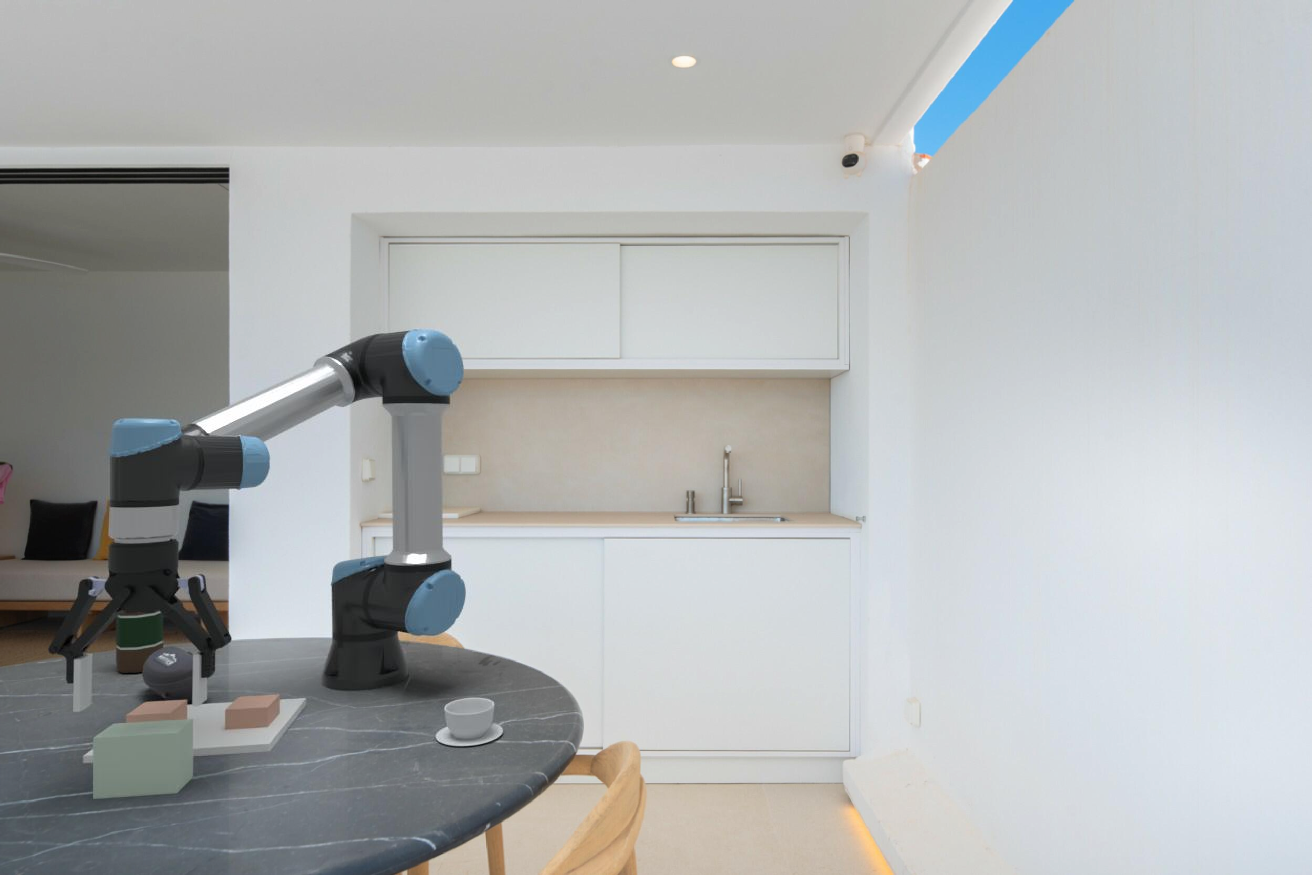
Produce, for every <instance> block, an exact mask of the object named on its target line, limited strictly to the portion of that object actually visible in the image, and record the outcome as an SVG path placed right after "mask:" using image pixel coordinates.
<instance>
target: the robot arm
mask: <svg viewBox="0 0 1312 875" xmlns="http://www.w3.org/2000/svg"><path fill="white" fill-rule="evenodd" d="M460 352H461V351H460V350H459V348H458V347H457V345H456V344H454V342H453V340H452V339H451V338H450V337H449V336H448V335H446V334H445V333H444V332H441V331H439V330H435V329H434V330H433V329H422V328H421V329H411V330H403V331H396V332H387V333H386V332H384V333H375V334H371V335H368V336H365V337H362V338H359V339H357V340H355V341H353V342H351V343H348V344H346V345H344V346H342V347H340V348H338V349H336V350H334V351H332V352H329V353H328V354H325V355H324V356H321V357H319V358H317V359H316V361H314V363H313V365H312V366H313V367H311V368H308V369H306V370H305V371H302V372H300V373H298V374H296V375H293V376H291V377H289V378H287V379H284V380H282V381H280V382H277V383H276V384H274V385H271V386H269V387H267V388H264V389H263V390H260V391H258V392H256V393H254V394H252V395H249V396H247V397H245V398H243V399H241V400H239V401H237V402H234V403H232V404H230V405H228V406H226V407H223V408H221V409H218V410H217V411H214V412H213V413H210V414H208V415H206V416H203V417H201V418H199V419H197V420H195V421H193V422H191V423H188V424H186V425H184V426H181V423H180V422H179V421H178V420H176V419H165V418H164V419H163V418H121V419H118V420H117V421H115V422H114V423H113V424H112V427H111V433H110V434H111V435H110V442H109V443H110V444H109V452H108V457H109V517H108V535H107V537H109V538H110V539H114V541H112V542H111V543H109V545H108V557H107V558H108V559H107V560H108V562H107V566H108V567H107V568H108V577H107V579H104V578H103V579H102V578H99V577H98V576H90V577H87V578H84V579H81V580H80V581H79V583H78V588H77V590H78V591H77V596H76V599H75V601H73V602H74V603H73V604H72V605H71V608H70V609H69V611H68V612H67V614H66V616H65V618H64V620H63V622H62V624H61V625H60V626H59V628H58V630H57V632H56V634H55V636H54V638H52V641H51V643H50V644H49V647H48V653H49V654H50V655H56V654H57V655H59V656H60V655H61V656H63V657H64V659H65V660H66V661H65V662H66V664H65V665H66V666H65V667H66V668H65V669H66V670H65V671H66V672H65V674H66V675H65V681H66V682H67V684H69V685H71V684H73V697H72V700H73V702H72V704H73V705H72V707H73V708H72V713H80V712H82V711H83V710H85V709H87V708H88V707H90V706H92V699H93V698H92V694H93V691H92V690H93V689H92V688H93V653H86V652H88V649H89V648H90V647H91V645H92V644H93V643H94V642H95V641H96V640H97V639H98V638H99V637H100V636H101V634H102V633H103V632H104V631H106V629H107V628H108V627H109V626H110V625H111V624H112V623H113V622H114V621H115V620H116V617H117V616H118V615H119V614H120V613H122V612H123V611H124V612H126V614H133V613H136V612H144V613H154V612H156V611H158V610H159V611H160V612H161V613H162V614H163V617H164V616H165V617H167V618H168V619H169V620H170V621H171V622H172V623H173V624H174V625H175V626H176V627H177V629H178V630H179V631H180V632H181V633H182V634H183V635H184V636H185V637H186V639H187V640H189V641H190V642H191V644H193V646H194V647H195V648H196V649H197V650H198V652H196V653H194V654H193V692H192V702H191V705H192V706H199V705H201V704H204V703H205V701H207V700H208V680H207V678H208V679H209V678H211V677H213V675H215V672H216V651H217V650H218V649H223V648H224V647H225V646H227V645H229V643H231V642H232V639H233V638H232V636H231V634H230V632H229V630H228V628H227V626H226V625H225V622H224V620H223V619H222V617H221V615H220V613H219V611H218V609H217V608H216V605H215V603H214V601H213V600H212V598H211V596H210V594H209V592H208V590H207V582H206V576H205V575H204V574H203V573H199V574H196V575H193V576H188V577H187V576H186V577H180V575H179V572H178V571H179V550H180V549H179V546H180V545H179V544H180V542H179V541H178V539H177V538H174V537H175V536H177V535H178V534H179V528H180V525H179V524H180V495H181V492H187V491H189V492H190V491H205V490H206V491H211V490H215V491H216V490H239V491H240V490H241V489H248V488H249V489H250V488H256V487H258V486H261V485H262V483H263V482H265V480H266V478H267V477H268V475H269V472H270V469H271V468H270V467H271V464H270V460H271V456H270V455H271V454H270V452H269V449H268V446H267V445H266V443H265V442H267V441H269V440H271V439H272V438H274V437H277V436H278V435H280V434H282V433H284V432H287V431H289V430H291V429H292V428H294V427H296V426H298V425H299V424H302V423H304V422H306V421H307V420H310V419H312V418H313V417H316V416H317V415H320V414H321V413H324V412H325V411H328V410H330V409H331V408H333V407H335V406H336V407H341V408H344V407H348V406H350V405H351V404H354V403H355V402H358V401H362V400H365V399H367V400H368V399H372V398H373V399H374V398H381V400H382V402H381V403H382V404H381V406H382V407H383V409H384V410H386V411H387V412H388V414H390V416H391V479H392V480H391V483H392V484H391V485H392V486H391V487H392V488H391V490H392V491H391V495H392V497H391V500H392V506H391V509H392V550H391V552H390V553H389V554H387V555H377V556H376V555H375V556H368V557H361V558H354V559H350V560H349V559H348V560H343V561H339V562H337V563H336V564H335V565H334V566H333V568H332V577H331V583H330V587H331V630H332V631H331V638H332V639H331V645H330V648H329V651H328V654H327V657H326V660H325V663H324V666H323V669H322V672H321V673H322V674H321V684H322V686H323V687H324V688H326V689H329V690H332V691H341V692H358V691H370V690H376V689H382V688H386V687H390V686H393V685H395V684H399V683H400V682H402V681H404V680H406V678H407V677H408V675H409V674H408V673H409V670H408V669H409V666H408V663H407V659H406V656H405V653H404V650H403V647H402V644H401V641H400V639H399V638H400V637H399V632H400V633H405V634H410V635H411V636H417V637H422V636H425V637H433V636H439V635H442V634H443V633H445V632H447V631H448V630H449V629H450V628H452V626H453V625H454V624H455V623H456V621H457V619H458V618H459V617H460V615H461V614H462V612H463V609H464V606H465V602H466V594H467V590H466V584H465V581H464V579H462V577H461V575H460V574H459V573H457V572H456V571H455V570H452V566H453V565H452V558H453V557H452V555H451V554H450V553H449V552H448V551H446V549H445V548H444V545H443V544H444V543H443V540H444V539H443V533H444V532H443V528H444V527H443V526H444V525H443V449H442V447H443V443H442V442H443V440H442V435H443V434H442V430H443V429H442V424H443V423H442V422H443V421H442V416H443V414H444V413H445V412H446V411H447V410H448V409H449V408H450V407H451V395H452V394H453V393H455V392H456V391H457V390H458V389H459V388H460V385H461V384H462V383H463V379H464V370H465V369H464V368H465V367H464V361H463V357H462V355H461V353H460ZM180 588H182V589H183V590H184V593H185V594H187V595H189V599H190V601H191V603H192V604H193V606H194V609H195V610H196V613H197V614H198V616H199V618H200V620H201V621H202V623H203V625H204V627H205V628H204V627H203V626H202V625H201V624H200V623H199V621H197V620H196V619H195V617H194V616H193V615H192V614H191V613H190V612H189V611H188V610H187V609H186V608H185V606H184V604H183V602H182V601H181V600H180V599H179V598H178V597H177V596H176V594H177V592H178V591H179V590H180ZM104 590H105V591H106V593H107V594H108V596H109V597H110V598H111V599H112V600H111V601H109V602H108V604H106V606H105V607H104V608H103V609H102V610H101V612H100V614H98V615H97V616H96V618H95V619H94V620H93V621H92V622H91V623H90V624H89V625H88V627H87V628H86V629H85V630H84V631H83V632H82V633H80V635H79V636H77V634H78V632H79V630H80V629H81V627H82V625H83V623H84V621H85V620H86V618H87V616H88V615H89V613H90V611H91V609H92V607H93V605H94V604H95V602H96V600H97V598H98V596H99V595H101V594H102V593H103V591H104ZM76 636H77V638H76V639H75V637H76ZM74 639H75V641H74Z"/></svg>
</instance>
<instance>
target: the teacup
mask: <svg viewBox="0 0 1312 875" xmlns="http://www.w3.org/2000/svg"><path fill="white" fill-rule="evenodd" d="M443 710H444V718H445V723H446V726H445V727H443V728H441V729H440V730H438V731H437V732H436V734H435V739H436V741H438V742H439V743H441V744H443V745H447V746H453V747H469V746H470V747H471V746H477V745H482V744H487V743H489V742H493V741H494V740H496V739H498V738H500V736H502V735H503V733H504V728H503V727H502V726H501V725H499V724H497V723H495V722H493V719H494V713H495V702H494V701H493V700H491V699H489V698H484V697H466V698H465V697H464V698H460V699H456V700H452V701H450V702H448V703H447V704H445V706H444V709H443Z"/></svg>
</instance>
